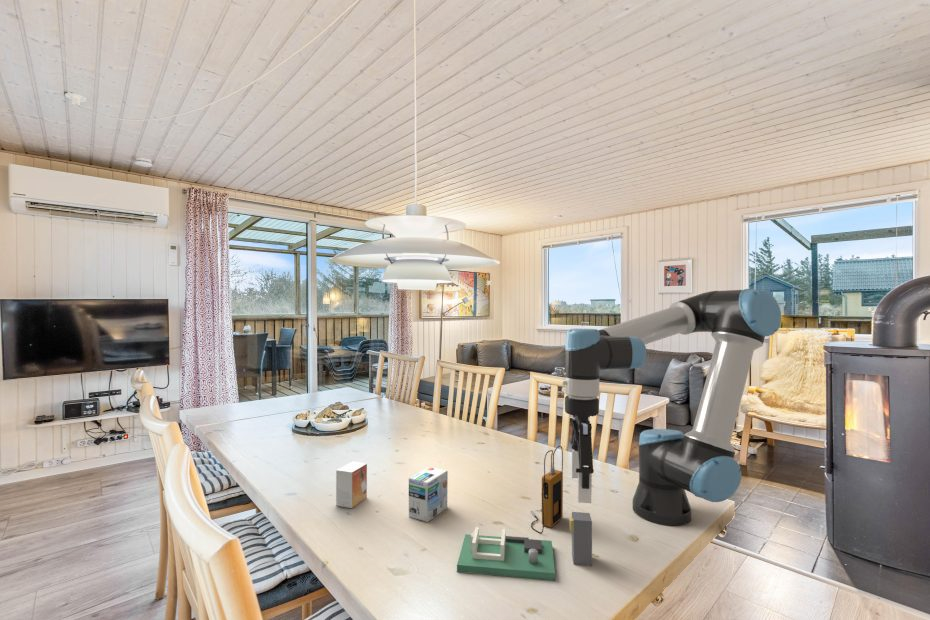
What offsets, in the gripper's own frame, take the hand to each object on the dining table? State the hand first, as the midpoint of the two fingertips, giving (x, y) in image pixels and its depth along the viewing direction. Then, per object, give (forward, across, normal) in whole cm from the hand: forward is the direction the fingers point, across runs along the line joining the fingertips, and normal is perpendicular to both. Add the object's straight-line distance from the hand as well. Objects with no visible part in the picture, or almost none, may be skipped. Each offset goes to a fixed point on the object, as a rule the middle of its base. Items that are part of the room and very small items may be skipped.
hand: (580, 489), depth 100 cm
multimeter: (+16, -19, -8) cm, 26 cm away
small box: (+17, -21, -64) cm, 69 cm away
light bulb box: (+17, -18, -40) cm, 47 cm away
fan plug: (+16, 0, 0) cm, 16 cm away
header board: (+16, +2, -17) cm, 23 cm away
